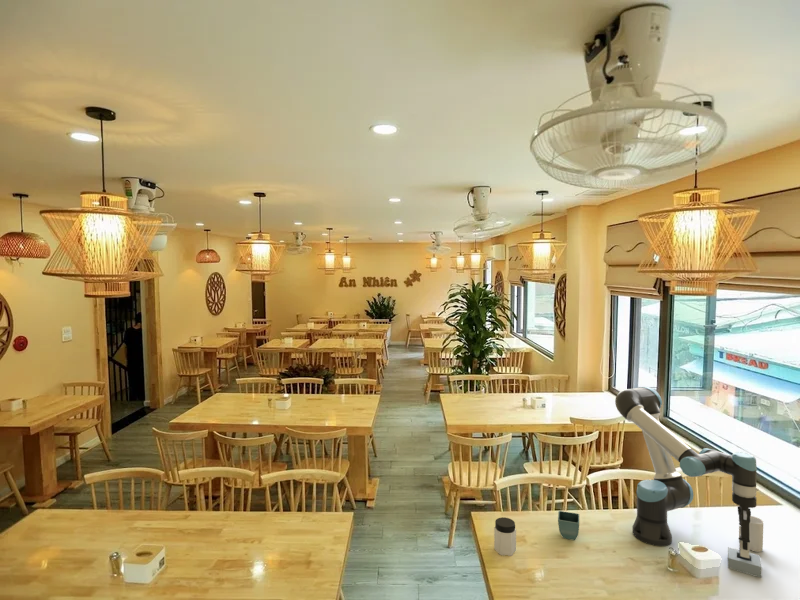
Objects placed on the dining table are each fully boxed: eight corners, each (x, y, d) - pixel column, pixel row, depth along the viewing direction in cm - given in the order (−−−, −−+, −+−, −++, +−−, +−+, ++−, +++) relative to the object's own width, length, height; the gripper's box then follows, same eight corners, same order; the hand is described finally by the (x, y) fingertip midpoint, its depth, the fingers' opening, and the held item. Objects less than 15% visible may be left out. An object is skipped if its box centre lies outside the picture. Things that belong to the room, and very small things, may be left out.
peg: (739, 567, 172) (739, 537, 172) (738, 563, 175) (739, 533, 174) (749, 570, 171) (749, 539, 170) (748, 566, 173) (749, 536, 173)
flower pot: (557, 539, 193) (557, 519, 192) (558, 529, 201) (558, 510, 201) (579, 544, 189) (579, 523, 189) (579, 533, 197) (579, 513, 197)
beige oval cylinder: (767, 553, 182) (767, 524, 182) (749, 551, 183) (749, 523, 182) (751, 539, 192) (751, 512, 191) (734, 538, 193) (734, 511, 192)
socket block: (728, 568, 172) (728, 558, 172) (727, 556, 179) (727, 547, 179) (761, 577, 166) (761, 567, 166) (759, 565, 173) (759, 555, 173)
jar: (519, 554, 182) (519, 525, 182) (503, 558, 179) (502, 529, 179) (507, 542, 191) (507, 515, 190) (491, 546, 188) (491, 518, 188)
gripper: (758, 508, 161) (758, 568, 161) (754, 485, 179) (754, 539, 180) (733, 502, 165) (733, 561, 165) (731, 481, 184) (731, 533, 184)
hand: (744, 549), depth 173 cm, fingers open, 10 cm apart
